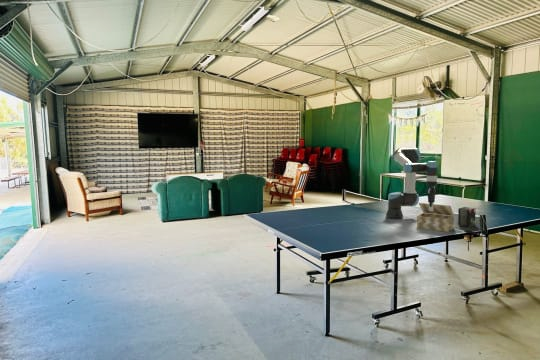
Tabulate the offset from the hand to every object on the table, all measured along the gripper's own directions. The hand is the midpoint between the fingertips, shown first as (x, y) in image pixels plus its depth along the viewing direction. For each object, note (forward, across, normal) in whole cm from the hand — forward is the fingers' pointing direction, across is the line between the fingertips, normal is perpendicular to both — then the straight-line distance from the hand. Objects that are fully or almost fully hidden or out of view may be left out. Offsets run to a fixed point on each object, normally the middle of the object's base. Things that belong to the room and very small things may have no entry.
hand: (431, 210), depth 278 cm
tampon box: (+16, +34, -17) cm, 41 cm away
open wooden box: (+16, +9, 0) cm, 18 cm away
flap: (+1, +11, 0) cm, 11 cm away
